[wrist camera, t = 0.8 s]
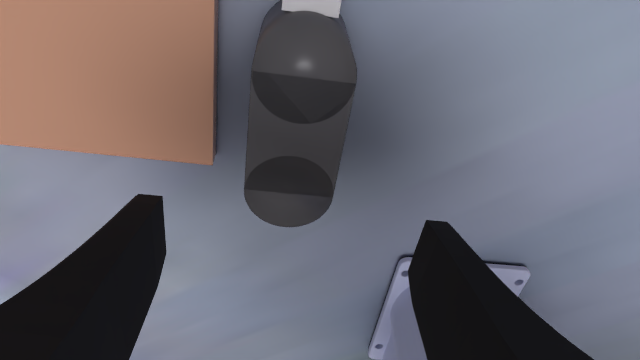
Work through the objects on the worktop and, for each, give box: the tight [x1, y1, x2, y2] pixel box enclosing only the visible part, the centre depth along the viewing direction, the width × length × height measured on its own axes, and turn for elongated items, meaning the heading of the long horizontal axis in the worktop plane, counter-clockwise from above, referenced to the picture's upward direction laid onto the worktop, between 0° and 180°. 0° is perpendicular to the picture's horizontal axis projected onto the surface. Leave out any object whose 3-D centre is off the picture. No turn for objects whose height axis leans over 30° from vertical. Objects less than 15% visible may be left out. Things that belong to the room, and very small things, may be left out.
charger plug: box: [244, 0, 357, 227], centre depth 18 cm, size 10×4×4 cm, turn 172°
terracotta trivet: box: [0, 0, 218, 165], centre depth 17 cm, size 11×11×1 cm
